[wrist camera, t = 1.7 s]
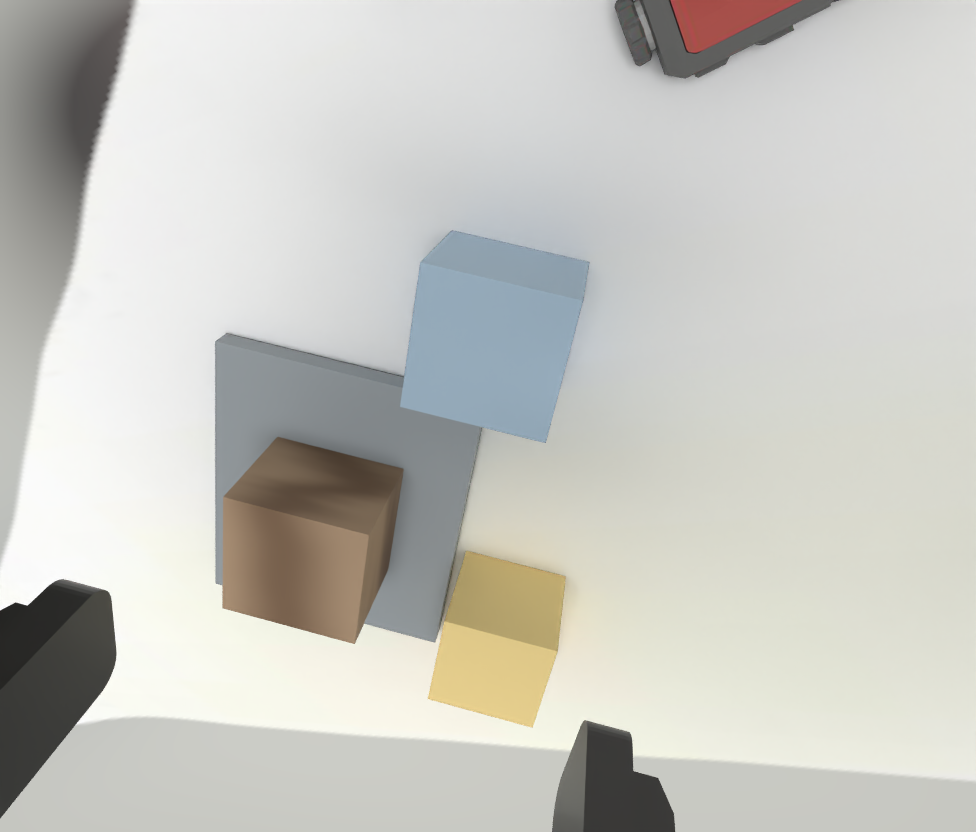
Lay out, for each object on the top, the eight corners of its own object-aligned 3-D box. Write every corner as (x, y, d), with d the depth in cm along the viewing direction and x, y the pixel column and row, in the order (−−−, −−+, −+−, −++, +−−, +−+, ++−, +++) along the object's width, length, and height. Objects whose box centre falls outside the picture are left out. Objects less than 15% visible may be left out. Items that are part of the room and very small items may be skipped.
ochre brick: (565, 575, 34) (557, 651, 30) (543, 647, 37) (532, 727, 32) (466, 549, 35) (444, 621, 30) (450, 622, 37) (427, 698, 33)
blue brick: (589, 261, 27) (582, 300, 23) (556, 386, 30) (545, 443, 26) (452, 229, 28) (420, 262, 23) (432, 356, 30) (399, 406, 26)
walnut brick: (403, 468, 32) (369, 534, 27) (388, 569, 35) (354, 644, 30) (277, 436, 32) (223, 496, 28) (272, 538, 35) (222, 607, 31)
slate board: (488, 398, 31) (484, 408, 30) (439, 628, 37) (435, 642, 36) (226, 333, 31) (215, 341, 30) (224, 571, 38) (215, 583, 37)
